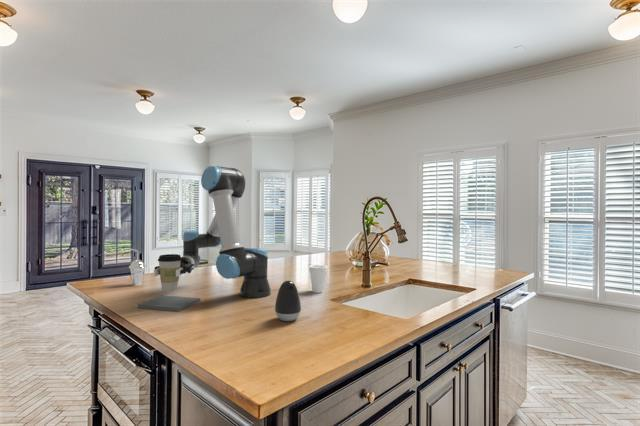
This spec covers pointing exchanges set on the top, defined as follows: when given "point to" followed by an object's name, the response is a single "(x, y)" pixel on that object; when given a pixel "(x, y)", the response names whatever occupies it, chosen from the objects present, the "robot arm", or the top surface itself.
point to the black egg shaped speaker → (287, 302)
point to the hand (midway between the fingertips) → (165, 273)
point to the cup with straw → (137, 270)
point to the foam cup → (318, 277)
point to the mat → (169, 303)
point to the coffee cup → (169, 271)
